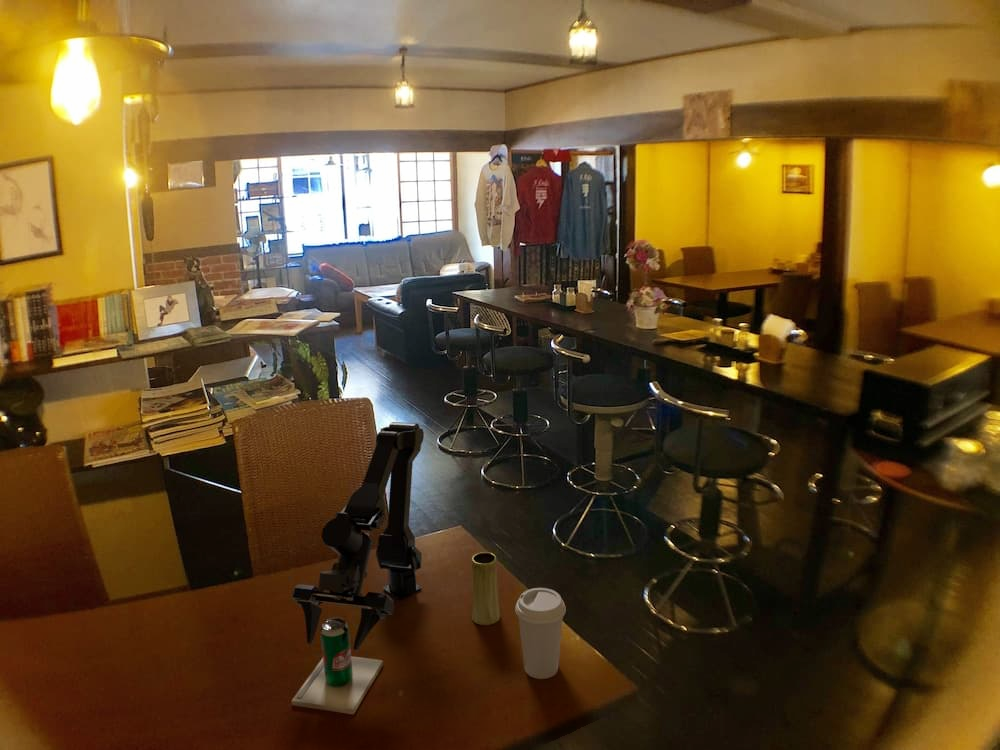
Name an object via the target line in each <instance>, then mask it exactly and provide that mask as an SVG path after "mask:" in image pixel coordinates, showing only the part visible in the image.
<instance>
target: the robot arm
mask: <svg viewBox="0 0 1000 750" xmlns="http://www.w3.org/2000/svg"><path fill="white" fill-rule="evenodd" d="M424 432H425V431H424V429H423V428H421V427H420V425H419V423H414V422H398V421H397V422H395V421H392V422H390V423H389V426H385V427H383V428H380V431H379V432H378V433H377V434H376V438H375V447H374V449H373V453H372V455H371V458H370V461H369V464H368V466H367V470H366V472H365V475H364V478H363V480H362V483H361V485H360V487H359V488H358V489H356V490H355V491H353V493H352V494H351V495H350V497H349V499H348V501H347V503H346V505H345V506H344V507H343V508H342V510H341V511H338V512H337V513H336V516H335V518H332V519H330V520H329V521H328V522H327V523H326V524H325V525H324V527H323V528H322V531H321V539H322V542H323V543H324V544H325V545H326V546H327V547H329V548H330V549H331V550H333V551H334V553H336V554H338V557H337V562H334V563H333V564H332V567H331V570H326V571H321V572H319V574H318V575H319V576H318V583H317V584H318V587H317V586H315V585H309V584H300V583H298V584H297V585H296V586H295V587H294V588H293V591H292V594H291V599H292V600H294V601H296V604H297V605H298V606H300V607H302V610H303V614H304V619H305V631H306V643H307V645H312V643H313V641H314V638H315V636H316V633H317V632H316V631H317V629H318V627H319V626H318V625H319V622H320V618H321V615H322V611H323V608H321V607H320V605H322V604H323V603H327V604H335V605H337V604H338V605H345V606H352V607H354V606H356V607H361V609H360V620H359V621H360V622H359V624H358V628H357V631H356V635H355V639H354V644H353V650H354V651H355V652H356V651H358V650H359V648H360V647H361V646H362V644H363V642H364V641H365V640H366V638H367V637H368V635H369V634H370V632H371V631H372V629H373V628H375V626H376V625H377V623H378V622H379V621H380V620H384V619H386V615H388V616H392V615H393V614H394V608H395V601H394V600H393V598H391V597H390V596H388V595H387V594H389V595H391V596H392V597H394V598H395V599H397V600H403V599H405V598H407V597H409V596H411V595H413V594H414V593H418V592H419V591H421V590H422V586H420V585H419V584H417V579H416V577H417V576H416V571H417V570H420V569H421V568H422V561H423V558H422V557H423V556H422V555H423V553H422V552H421V551H420V550H419V549H418V548H417V547H416V537H415V535H414V533H413V532H412V529H411V528H410V510H411V495H412V480H413V479H412V478H413V464H414V463H413V462H414V461H415V459H416V458H417V457H418V455H419V454H420V452H421V448H422V444H423V441H424V436H425V433H424ZM389 479H390V482H389ZM388 482H389V495H388V498H389V500H388V511H387V517H386V503H385V500H384V494H385V491H386V489H387V485H388ZM386 518H387V526H386V528H385V529H384V530H383V532H382V533H381V534H379V536H378V539H377V542H378V543H377V544H378V545H377V546H376V552H375V555H376V560H377V562H378V566H379V569H383V570H387V579H388V584H387V585H386V586H383V589H382V590H383V591H385V592H386V593H387V594H386V593H382V592H373V591H368V592H367V593H366V594H365V596H364V595H363V593H361V592H362V588H363V583H364V580H365V579H368V572H367V567H368V562H369V558H370V553H371V549H372V548H374V547H375V541H374V540H373V538H372V534H371V533H368V532H367V533H365V532H363V531H369V532H374V531H375V532H376V531H377V530H380V528H381V527H382V526H383V524H384V523H385V520H386Z"/></svg>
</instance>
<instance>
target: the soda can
mask: <svg viewBox="0 0 1000 750" xmlns="http://www.w3.org/2000/svg"><path fill="white" fill-rule="evenodd" d="M346 621H347V620H346V619H345V618H343V617H338V616H334V617H333V616H332V617H331V618H327V619H326V620H324V621H323V623H322V624H321V628H320V640H321V649H322V651H321V652H322V658H323V661H324V671H325V680H326V682H327V683H328V684H329V685H331V686H334V687H339V686H343V685H345V684H347V683H348V682H349V681H350V680H351V679H352V676H353V672H352V661H351V656H352V650H351V641H350V640H351V639H350V631H349V630H350V628H349V623H347V622H346Z"/></svg>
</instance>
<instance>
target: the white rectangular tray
mask: <svg viewBox="0 0 1000 750" xmlns="http://www.w3.org/2000/svg"><path fill="white" fill-rule="evenodd" d="M351 661H352V672H353V676H352V679H351V680H350V681H349V682H348V683H347V684H345V685H343V686H339V687H334V686H331V685H329V684H328V683H327V682H326V680H325V671H324V661H323V657H322V658H321V660H320V661H319V662H318V664H317V665H316V666H315V668H314V669H313V671H312V672H311V673H310V675H309V676H308V677H307V678H306V680H305V681H304V683H303V684H302V685H301V687H300V688H299V690H298V691H297V692H296V694H295V695H294V697H293V698H292V700H291V705H292V706H294V707H295V706H296V707H300V708H301V707H303V708H310V709H315V710H321V711H327V712H334V713H342V714H348V715H355V713H356V711H357V709H358V708H359V706H360V704H361V703H362V701H363V699H364V697H365V696H366V694H367V692H368V691H369V690H370V688H371V686H372V684H373V683H374V681H375V679H376V677H377V676H378V674H379V672H381V669H382V668H383V666H384V661H383V660H381V659H376V658H368V657H360V656H352V655H351Z"/></svg>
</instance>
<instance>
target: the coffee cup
mask: <svg viewBox="0 0 1000 750" xmlns="http://www.w3.org/2000/svg"><path fill="white" fill-rule="evenodd" d="M514 611H515V614H516V615H517V618H518V623H519V624H518V626H519V633H520V634H519V635H520V641H521V651H522V659H523V667H524V672H525V673H526V674H527V675H528V676H529V677H531V678H534V679H538V680H545V679H549V678H552V677H554V676H555V675H557V672H558V671H559V662H560V653H561V652H560V651H561V641H562V640H561V638H562V632H563V631H562V630H563V619H564V616H565V614H566V611H567V609H566V604H565V602H564V600H563V599H562V597H561V595H560V594H559V593H558V592H557V591H555V590H553V589H550V588H547V587H534V588H529V589H527V590H525V591H524V592H522V593H521V594H520V596H519V598H518V600H517V602H516V604H515V608H514Z"/></svg>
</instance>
